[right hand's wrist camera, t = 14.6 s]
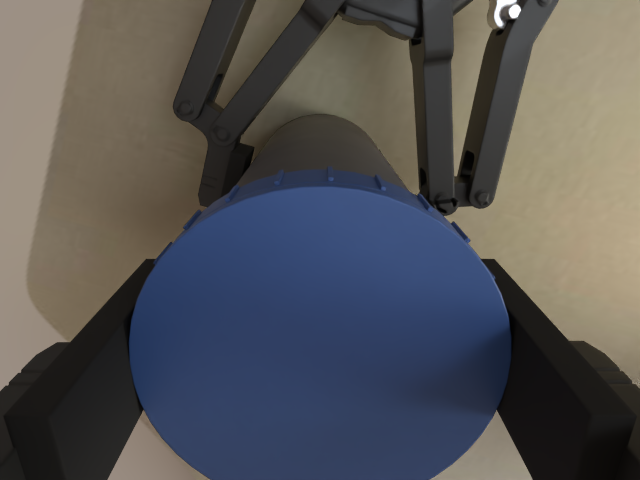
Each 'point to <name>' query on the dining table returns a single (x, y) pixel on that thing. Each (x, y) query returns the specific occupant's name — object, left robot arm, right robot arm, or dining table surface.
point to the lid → (320, 334)
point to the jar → (320, 150)
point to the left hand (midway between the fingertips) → (295, 287)
